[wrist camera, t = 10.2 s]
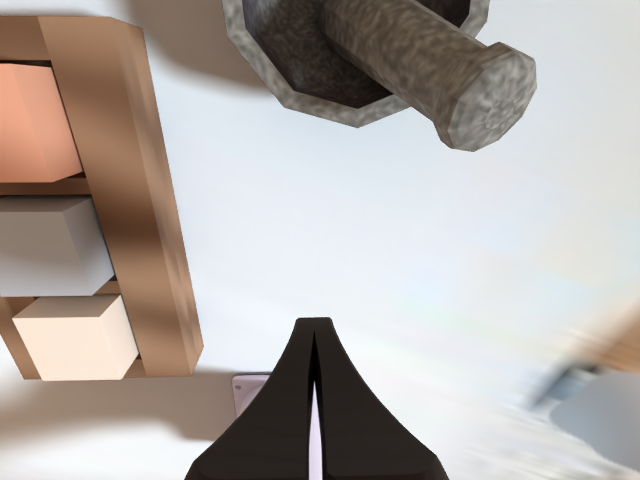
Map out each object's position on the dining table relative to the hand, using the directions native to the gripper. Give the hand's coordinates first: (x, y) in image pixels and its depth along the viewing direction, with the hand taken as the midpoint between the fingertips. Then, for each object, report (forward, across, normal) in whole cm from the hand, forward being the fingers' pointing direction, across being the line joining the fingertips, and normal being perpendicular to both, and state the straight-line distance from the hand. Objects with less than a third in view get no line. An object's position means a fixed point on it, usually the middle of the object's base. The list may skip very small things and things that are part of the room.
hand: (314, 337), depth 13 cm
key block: (+10, +15, -1) cm, 18 cm away
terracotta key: (+9, +15, -8) cm, 19 cm away
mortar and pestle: (+11, -2, -12) cm, 16 cm away
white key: (+9, +15, +5) cm, 18 cm away
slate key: (+9, +15, -1) cm, 17 cm away
